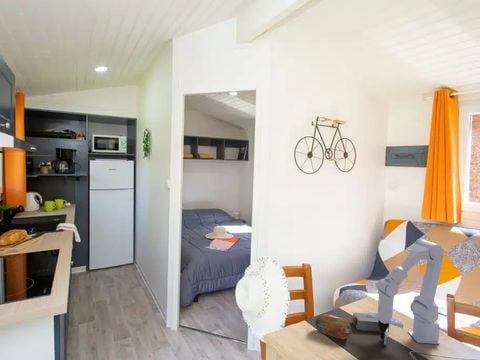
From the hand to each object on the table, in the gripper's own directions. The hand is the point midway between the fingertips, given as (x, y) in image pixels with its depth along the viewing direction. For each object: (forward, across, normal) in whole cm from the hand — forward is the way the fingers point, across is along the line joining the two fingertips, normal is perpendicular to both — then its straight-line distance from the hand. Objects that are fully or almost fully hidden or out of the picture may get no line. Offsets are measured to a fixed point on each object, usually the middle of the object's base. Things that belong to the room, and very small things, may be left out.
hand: (382, 337), depth 126 cm
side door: (+1, +2, +3) cm, 4 cm away
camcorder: (+2, -6, +9) cm, 11 cm away
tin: (+2, -19, -8) cm, 21 cm away
